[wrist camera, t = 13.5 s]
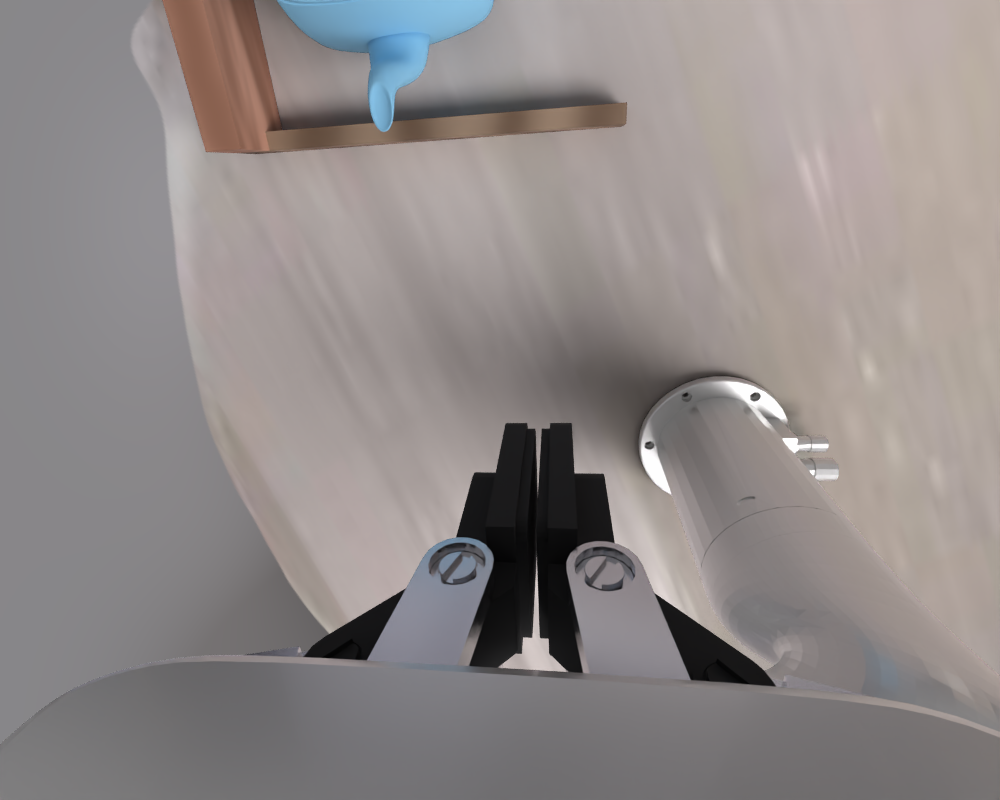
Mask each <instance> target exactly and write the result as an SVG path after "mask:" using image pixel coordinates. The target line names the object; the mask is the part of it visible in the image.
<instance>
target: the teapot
mask: <svg viewBox="0 0 1000 800" xmlns="http://www.w3.org/2000/svg"><path fill="white" fill-rule="evenodd" d="M277 1H278V3H279V4H280V6H281V7H282V8H283V10H284V11H285V12H286V14H287V15H288V16H289V17H290V19H291V20H292V21H293V22H294V23H295V24H296V25H297V26H298V27H299V28H300V29H301V30H302V31H303V32H304V33H305V34H307V35H308V36H309V37H311V38H312V39H314V40H315V41H317V42H318V43H320V44H321V45H323V46H326V47H328V48H332V49H335V50H339V51H347V52H360V53H369V55H370V63H371V70H370V73H369V81H368V101H369V107H370V112H371V116H372V119H373V121H374V123H375V125H376V127H377V128H378V129H379V130H380V131H382V132H386V131H388V130H389V128H390V127H391V124H392V122H393V116H394V101H395V94H396V91H397V90H398V89H399V88H400V87H403V86H406V85H408V84H410V83H412V82H413V81H414V80H416V79H417V78H418V77H419V76H420V74H421V73H422V72H423V69H424V67H425V65H426V61H427V55H428V49H429V45H430V44H434V43H437V42H440V41H442V40H445V39H448V38H451V37H453V36H455V35H458V34H460V33H463V32H465V31H467V30H469V29H471V28H473V27H475V26H476V25H478V24H479V23H480V22H482V21H483V20H484V19H486V17H487V16H488V15H489V13H490V11H491V9H492V7H493V1H494V0H277Z"/></svg>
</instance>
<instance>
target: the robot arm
mask: <svg viewBox="0 0 1000 800" xmlns="http://www.w3.org/2000/svg"><path fill="white" fill-rule="evenodd" d="M684 393H687V394H686V395H683V394H684ZM752 393H753V394H752ZM648 441H649V442H648ZM638 444H639V454H640V458H641V461H642V465H643V467H644V469H645V471H646V473H647V475H648V476H649V477H650V479H651V480H652V481H653V482H654V483H655V484H656V485H657V486H658V487H659V488H661V489H662V490H663V491H665V492H667V493H668V494H670V495H672V497H673V500H674V503H675V506H676V509H677V511H678V514H679V517H680V520H681V523H682V526H683V529H684V532H685V534H686V537H687V540H688V543H689V546H690V549H691V552H692V555H693V557H694V560H695V563H696V566H697V569H698V572H699V575H700V578H701V580H702V584H703V586H704V589H705V592H706V595H707V598H708V600H709V603H710V605H711V607H712V609H713V611H714V613H715V615H716V616H717V618H718V619H719V621H720V622H721V624H722V625H723V626H724V627H725V628H726V629H727V631H728V632H729V633H730V634H731V635H732V636H733V637H734V638H735V639H736V640H737V641H739V642H740V643H741V644H742V645H744V646H745V647H746V648H748V649H749V650H750V651H752V652H753V653H755V654H756V655H758V656H759V657H761V658H763V659H764V660H766V661H768V662H769V663H771V664H773V665H774V666H773V667H771V668H770V669H768V670H765V671H764V670H763V669H762V668H760V667H759V666H758V665H757V664H756V663H755V662H753V661H752V660H751V659H749V658H748V657H746V656H745V655H743V654H742V653H740V652H739V651H738V650H736V649H735V648H733V647H732V646H730V645H729V644H727V643H726V642H725V641H723V640H722V639H720V638H719V637H717V636H716V635H714V634H713V633H711V632H710V631H709V630H707V629H706V628H704V627H703V626H701V625H700V624H698V623H697V622H696V621H694V620H693V619H691V618H690V617H688V616H687V615H685V614H684V613H682V612H681V611H680V610H678V609H677V608H675V607H674V606H672V605H671V604H669V603H668V602H666V601H665V600H664V599H662V598H661V597H659V596H658V595H656V594H655V593H654V591H653V589H652V586H651V584H650V582H649V579H648V577H647V574H646V572H645V570H644V567H643V565H642V563H641V562H640V560H639V559H638V557H637V556H636V555H635V554H634V553H633V552H631V551H630V550H629V549H627V548H625V547H623V546H621V545H619V544H615V543H614V536H613V530H612V523H611V516H610V510H609V503H608V497H607V490H606V484H605V477H604V474H574V457H573V439H572V423H550V429H542V436H541V453H540V470H539V487H538V491H537V459H536V431H535V429H528V426H527V423H506V425H505V429H504V434H503V439H502V444H501V449H500V454H499V459H498V464H497V469H496V473H482V472H475V473H474V475H473V477H472V481H471V485H470V489H469V492H468V496H467V500H466V503H465V507H464V511H463V514H462V518H461V522H460V525H459V529H458V533H457V536H456V538H452V539H447V540H445V541H442V542H440V543H438V544H436V545H435V546H433V547H432V548H431V549H429V550H428V552H427V553H426V554H425V556H424V557H423V559H422V560H421V562H420V564H419V566H418V568H417V569H416V571H415V573H414V575H413V577H412V579H411V580H410V582H409V584H408V586H407V588H406V589H404V590H403V591H401V592H399V593H397V594H396V595H394V596H392V597H391V598H389V599H387V600H386V601H384V602H382V603H381V604H379V605H377V606H376V607H374V608H372V609H371V610H369V611H367V612H366V613H364V614H362V615H361V616H359V617H357V618H356V619H354V620H352V621H351V622H349V623H347V624H345V625H344V626H342V627H340V628H339V629H337V630H335V631H334V632H332V633H330V634H329V635H327V636H325V637H324V638H323V639H321V640H320V641H318V642H317V643H316V644H315V645H313V646H312V647H311V649H310V650H309V651H306V652H301V650H300V647H299V646H297V647H291V648H285V649H278V650H272V651H266V652H260V653H253V654H247V655H207V656H195V657H184V658H175V659H169V660H163V661H157V662H151V663H145V664H141V665H138V666H134V667H131V668H127V669H123V670H120V671H116V672H113V673H110V674H107V675H104V676H102V677H99V678H96V679H93V680H91V681H89V682H87V683H84V684H82V685H80V686H77V687H75V688H73V689H72V690H70V691H68V692H66V693H65V694H63V695H61V696H59V697H58V698H56V699H55V700H53V701H52V702H50V703H49V704H48V705H46V706H45V707H44V708H42V709H41V710H39V711H38V712H37V713H36V714H34V715H33V716H32V717H31V718H29V719H28V720H27V721H26V722H25V723H23V724H22V725H21V726H20V727H19V728H18V729H17V730H15V731H14V732H13V733H12V734H11V735H10V736H9V737H7V738H6V739H5V740H4V741H3V742H2V743H1V744H0V800H1000V675H999V674H998V673H996V672H995V671H994V670H993V669H992V668H991V667H990V666H989V665H988V664H987V663H985V662H984V661H983V660H982V659H981V658H980V657H979V656H978V655H977V654H975V653H974V652H973V651H972V650H971V649H970V648H969V647H968V646H967V645H966V644H964V643H963V642H962V641H961V640H960V639H959V638H958V637H957V636H956V635H955V634H954V633H952V632H951V631H950V630H949V629H948V628H947V627H946V626H945V625H944V624H943V623H942V622H941V621H940V620H939V619H938V618H937V617H936V616H935V615H934V614H933V613H932V612H931V611H930V610H929V609H928V608H927V607H926V606H925V605H924V604H923V603H922V602H921V601H920V600H919V599H918V598H917V597H916V596H915V595H914V594H913V593H912V592H911V591H910V589H909V588H908V587H907V586H906V585H905V584H904V583H903V582H902V580H901V579H900V578H899V577H898V576H897V575H896V574H895V573H894V571H893V570H892V569H891V568H890V567H889V566H888V565H887V564H886V563H885V561H884V560H883V559H882V558H881V557H880V556H879V554H878V553H877V552H876V551H875V550H874V549H873V547H872V546H871V545H870V544H869V543H868V541H867V540H866V539H865V538H864V537H863V535H862V534H861V533H860V532H859V531H858V529H857V528H856V527H855V526H854V525H853V523H852V522H851V521H850V520H849V518H848V517H847V516H846V515H845V514H844V512H843V511H842V510H841V509H840V508H839V506H838V505H837V504H836V503H835V502H834V500H833V499H832V498H831V497H830V495H829V494H828V493H827V492H826V491H825V489H824V488H823V487H822V486H821V485H820V483H819V482H818V481H835V480H836V479H837V478H838V475H839V468H838V464H837V462H836V461H835V460H834V459H833V458H808V459H799V458H798V457H797V456H796V453H797V451H807V452H826V451H827V449H828V439H827V438H826V436H824V435H807V436H796V434H795V433H792V432H791V431H790V428H789V423H788V418H787V416H786V414H785V412H784V410H783V408H782V407H781V405H780V404H779V403H778V402H777V400H776V399H775V398H774V397H773V396H772V395H771V394H770V393H769V392H768V391H767V390H765V389H763V388H762V387H760V386H759V385H757V384H755V383H753V382H750V381H747V380H744V379H742V378H735V377H729V376H712V377H707V378H701V379H697V380H694V381H691V382H688V383H685V384H683V385H681V386H679V387H677V388H675V389H673V390H672V391H670V392H669V393H668V394H666V395H665V396H664V397H662V398H661V399H660V400H659V401H658V402H657V403H656V404H655V405H654V406H653V408H652V409H651V410H650V411H649V413H648V415H647V416H646V418H645V420H644V422H643V425H642V427H641V430H640V435H639V442H638ZM536 557H537V569H538V597H539V626H540V638H548V639H549V654H550V655H551V656H553V657H554V658H555V659H556V660H557V661H558V662H559V663H560V664H561V665H562V666H563V667H564V668H565V669H566V672H557V671H540V670H524V669H508V668H503V663H504V662H505V661H507V660H508V659H509V658H510V657H512V656H513V655H514V654H515V653H517V654H522V643H523V637H529V638H532V633H533V614H534V595H535V576H536Z"/></svg>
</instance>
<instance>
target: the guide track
mask: <svg viewBox="0 0 1000 800" xmlns="http://www.w3.org/2000/svg"><path fill="white" fill-rule="evenodd" d="M162 1H163V4H164V8H165V11H166V15H167V18H168V22H169V25H170V29H171V32H172V35H173V39H174V42H175V46H176V49H177V53H178V56H179V60H180V63H181V67H182V70H183V74H184V77H185V81H186V84H187V88H188V91H189V95H190V98H191V101H192V105H193V108H194V112H195V115H196V119H197V122H198V126H199V129H200V133H201V136H202V140H203V143H204V147H205V150H206V152H220V153H246V154H263V153H276V152H289V151H303V150H316V149H329V148H343V147H356V146H369V145H383V144H396V143H409V142H423V141H436V140H449V139H463V138H476V137H489V136H503V135H516V134H529V133H543V132H556V131H569V130H583V129H596V128H609V127H622V126H623V125H625V124H626V116H627V102H626V103H614V104H602V105H589V106H577V107H565V108H552V109H540V110H527V111H515V112H503V113H490V114H478V115H466V116H453V117H441V118H428V119H416V120H404V121H393V122H392V124H391V127H390V128H389V130H388V131H386V132H382V131H380V130H379V129H378V128H377V127H376V125H375V123H367V124H354V125H342V126H329V127H317V128H305V129H292V130H282V126H281V122H280V117H279V113H278V108H277V104H276V99H275V95H274V90H273V86H272V81H271V77H270V72H269V68H268V63H267V59H266V54H265V50H264V45H263V41H262V36H261V32H260V27H259V23H258V18H257V14H256V10H255V5H254V1H253V0H162Z"/></svg>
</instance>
